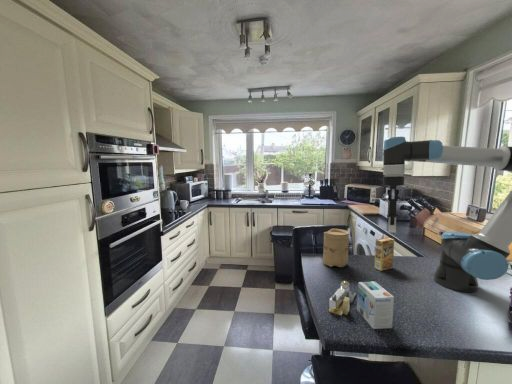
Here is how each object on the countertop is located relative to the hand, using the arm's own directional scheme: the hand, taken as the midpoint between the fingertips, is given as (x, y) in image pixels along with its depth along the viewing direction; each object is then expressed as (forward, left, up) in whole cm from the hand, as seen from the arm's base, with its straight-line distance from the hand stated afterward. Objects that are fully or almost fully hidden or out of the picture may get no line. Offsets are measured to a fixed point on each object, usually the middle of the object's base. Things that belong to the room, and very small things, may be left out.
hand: (392, 231), depth 96 cm
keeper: (+14, +26, -25) cm, 38 cm away
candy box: (+4, -21, -25) cm, 33 cm away
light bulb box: (+2, +26, -25) cm, 36 cm away
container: (+26, -12, -25) cm, 38 cm away
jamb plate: (+14, +17, -25) cm, 33 cm away
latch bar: (+15, +23, -24) cm, 36 cm away
